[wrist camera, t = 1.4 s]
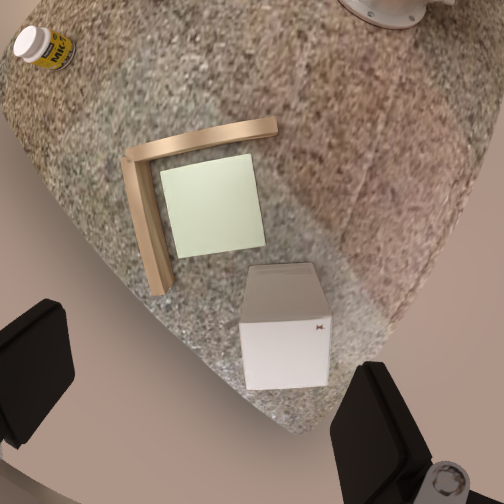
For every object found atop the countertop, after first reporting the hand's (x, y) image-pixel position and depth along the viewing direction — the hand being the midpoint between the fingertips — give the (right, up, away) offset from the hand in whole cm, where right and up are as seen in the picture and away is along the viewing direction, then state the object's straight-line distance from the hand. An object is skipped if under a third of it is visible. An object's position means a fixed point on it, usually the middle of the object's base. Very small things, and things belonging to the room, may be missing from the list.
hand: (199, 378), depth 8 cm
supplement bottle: (-23, +30, +19) cm, 42 cm away
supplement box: (+5, -1, +27) cm, 27 cm away
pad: (-3, +9, +24) cm, 26 cm away
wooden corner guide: (-3, +9, +24) cm, 26 cm away
